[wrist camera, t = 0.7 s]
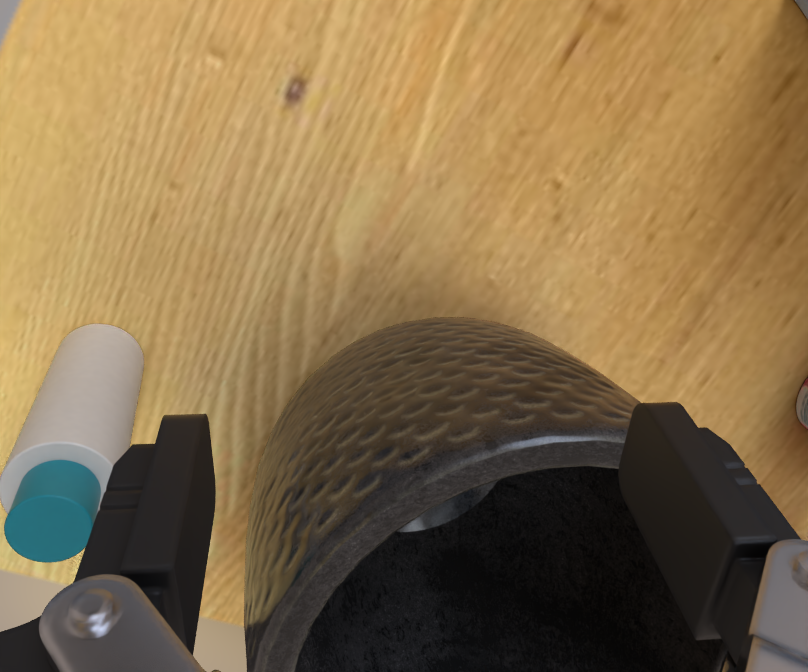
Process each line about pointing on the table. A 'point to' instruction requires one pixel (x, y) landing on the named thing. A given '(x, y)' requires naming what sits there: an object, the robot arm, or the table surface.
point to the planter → (455, 517)
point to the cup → (803, 405)
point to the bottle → (71, 443)
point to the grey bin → (803, 6)
